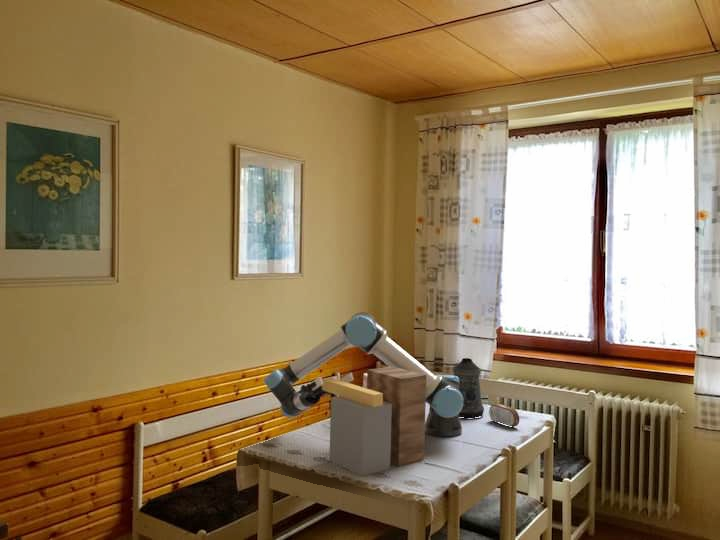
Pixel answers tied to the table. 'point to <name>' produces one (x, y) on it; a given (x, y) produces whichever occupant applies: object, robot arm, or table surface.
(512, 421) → the tin
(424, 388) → the walnut pedestal
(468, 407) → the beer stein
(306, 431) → the table surface
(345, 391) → the ochre bar
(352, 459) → the grey base
